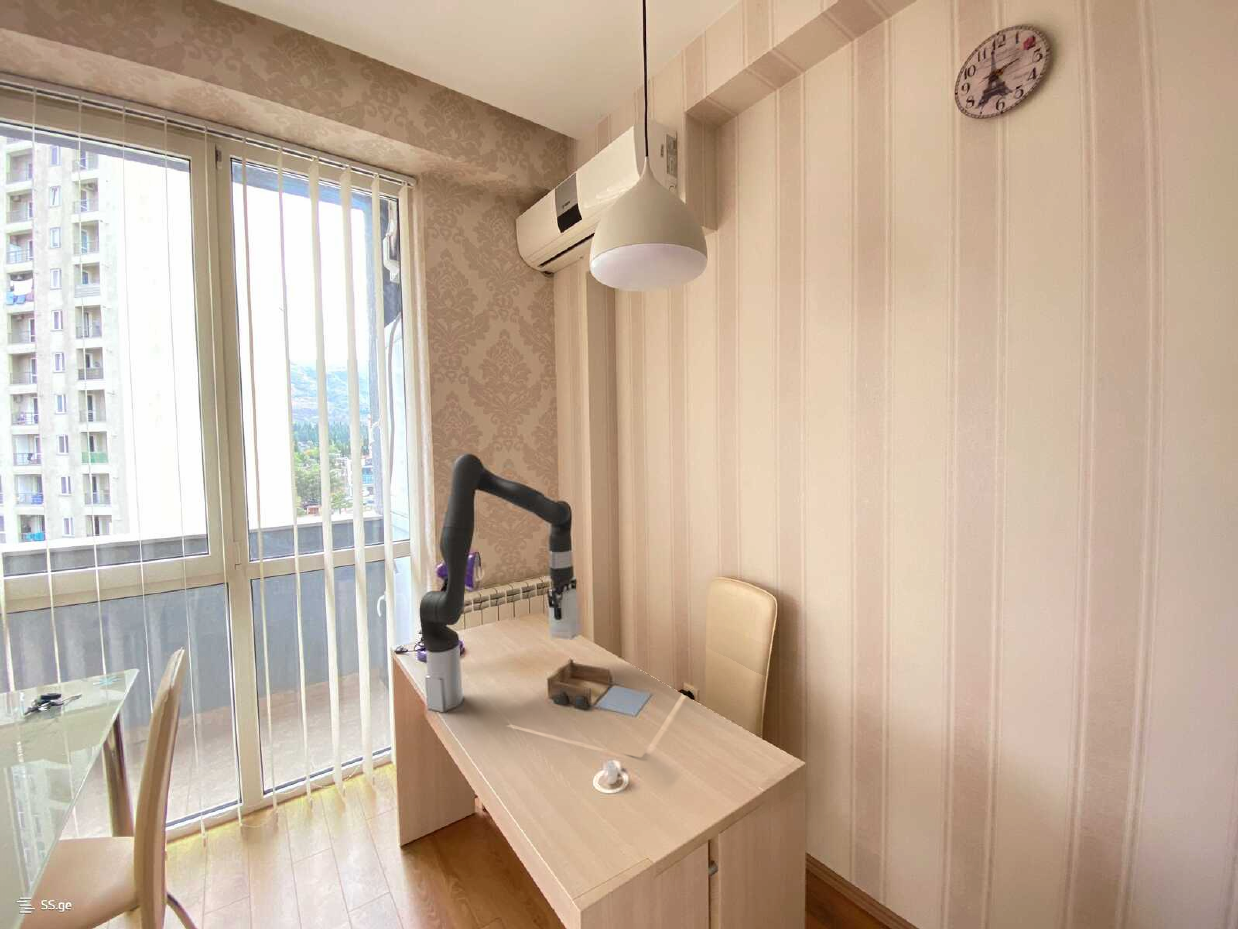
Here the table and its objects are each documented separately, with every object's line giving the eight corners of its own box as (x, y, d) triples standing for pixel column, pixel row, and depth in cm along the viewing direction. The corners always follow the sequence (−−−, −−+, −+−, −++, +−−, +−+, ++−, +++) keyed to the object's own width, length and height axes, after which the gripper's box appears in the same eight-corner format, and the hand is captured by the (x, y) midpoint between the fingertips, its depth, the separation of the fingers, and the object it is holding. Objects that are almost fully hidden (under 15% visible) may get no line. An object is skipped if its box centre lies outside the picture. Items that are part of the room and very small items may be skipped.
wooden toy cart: (587, 714, 140) (586, 690, 139) (545, 704, 146) (543, 681, 145) (613, 686, 155) (612, 664, 154) (574, 678, 161) (572, 656, 160)
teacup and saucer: (611, 764, 119) (610, 747, 119) (638, 778, 114) (637, 760, 114) (585, 785, 113) (584, 767, 112) (613, 801, 108) (612, 782, 107)
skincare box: (580, 634, 163) (578, 588, 163) (571, 641, 158) (569, 594, 157) (558, 631, 167) (556, 586, 166) (548, 637, 161) (546, 591, 161)
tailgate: (595, 709, 141) (635, 720, 136) (595, 705, 141) (635, 716, 136) (614, 689, 152) (651, 698, 147) (614, 685, 152) (651, 694, 147)
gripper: (563, 558, 169) (565, 607, 170) (538, 568, 156) (540, 622, 157) (582, 559, 166) (585, 610, 167) (558, 570, 153) (561, 625, 154)
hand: (563, 615), depth 162 cm, fingers closed on skincare box, 6 cm apart
